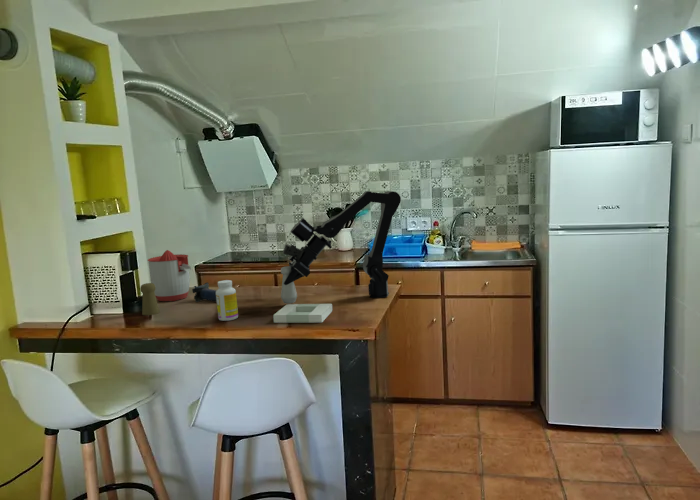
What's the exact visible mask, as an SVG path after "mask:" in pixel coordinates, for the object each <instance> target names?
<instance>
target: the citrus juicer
mask: <svg viewBox="0 0 700 500" xmlns="http://www.w3.org/2000/svg"><path fill="white" fill-rule="evenodd" d="M147 262H148V268H149V269H148V271H149V278H150V283H153V284H154V285H155V287H156V289H155V296H156V300H157V301H159V302H176V301H178V300H182V299H185V298H187V297H188V295H189V292H190V283H191V278H190V271H191V270H192V267H191V266H190V265H189V255H188V254H174V253H173V252H171V251H170V250H168V249H166V250H165V251H164V252H163V254H162V255H159V256H153V257H150V258H148V259H147Z"/></svg>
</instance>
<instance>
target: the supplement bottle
mask: <svg viewBox="0 0 700 500" xmlns="http://www.w3.org/2000/svg"><path fill="white" fill-rule="evenodd" d="M217 287H218V288H217V289H216V290H217V291H216V301H217V302H216V308H217V318H218V320H219V321H224V322H227V321H229V322H230V321H234V320H236V319H238V317H239V310H238V301H237V290H236V289H235V288H234V287H233V280H229V279H225V280H219V281H217Z"/></svg>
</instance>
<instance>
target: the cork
mask: <svg viewBox="0 0 700 500" xmlns="http://www.w3.org/2000/svg"><path fill="white" fill-rule="evenodd" d="M139 289H140V292H141V293H142V299H141V300H142V302H141V303H142V305H141V306H142V308H141V309H142V310H141V312H142V313H141V314H142V316H152V315H153V316H154V315H157V314H159V313H160V307H159V305H158V300H157V298H156V296H155V289H156V287H155V285H154V284H153V283H151V282H146V283H143V284H142V285H140V287H139Z"/></svg>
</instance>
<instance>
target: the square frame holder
mask: <svg viewBox="0 0 700 500" xmlns="http://www.w3.org/2000/svg"><path fill="white" fill-rule="evenodd" d="M332 312H333V304H332V303H289V304H286V305H284V306H283V307H282V308H281V309H279V310H278V311H277V312H276V313H274V314H273V315H272V316H273V323H278V324H279V323H280V324H281V323H284V324H285V323H287V324H289V323H294V324H295V323H297V324H298V323H302V324H303V323H307V324H308V323H314V324H315V323H323V322H324V321H325V319H327V318H328V316H329V315H331V314H332Z"/></svg>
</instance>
